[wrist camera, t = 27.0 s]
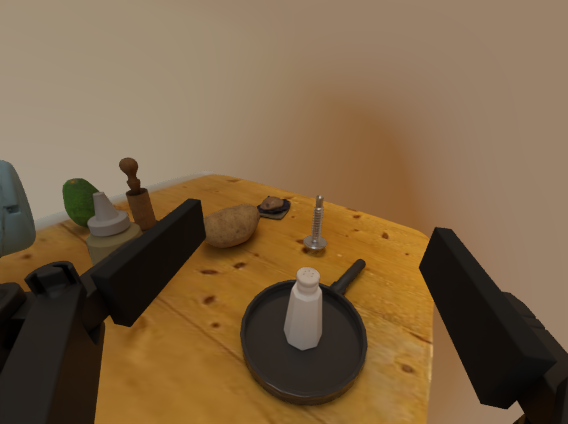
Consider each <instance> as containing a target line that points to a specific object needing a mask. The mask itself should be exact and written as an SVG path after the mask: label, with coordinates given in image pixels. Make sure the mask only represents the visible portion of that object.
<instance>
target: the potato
mask: <svg viewBox="0 0 568 424" xmlns="http://www.w3.org/2000/svg"><path fill="white" fill-rule="evenodd" d="M259 219H260V215H259V211H258V209H257V208H256V207H254V206H252V205H238V206H234V207H230V208H226V209H222V210H220V211H218V212H215V213H212V214H210V215H208V216H206V217H204V224H205V231H206V239H205V241H206V242H207V243H208V244H210V245H212V246H214V247H220V248H224V247H231V246H235V245H238V244H241V243H243V242H245V241H246V240H248V239H249V238H250V236H251V235H252V233H253V232H254V230H255V229H256V227H257V225H258V222H259Z"/></svg>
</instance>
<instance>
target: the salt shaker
mask: <svg viewBox="0 0 568 424" xmlns="http://www.w3.org/2000/svg"><path fill="white" fill-rule="evenodd" d="M319 280H320V274H319V273H318V271H316V270H315V269H313V268H310V267H304V268H301V269H300V270H298V272H297V282H296V283H295V285H294V286H293V288H292V291H291V295H290V300H289V305H288V310H287V315H286V320H285V325H284V332H285V335H286V338H287V342H288V343H289V344H291V345H292V346H294V347H296V348H298V349H300V350H302V351H303V350H306V349H309V348H313V347H316V346H317V344H318V342H319V340H320V337H321V335H322V291H321V289H320V287H319Z"/></svg>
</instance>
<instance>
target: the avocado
mask: <svg viewBox="0 0 568 424" xmlns="http://www.w3.org/2000/svg"><path fill="white" fill-rule="evenodd" d="M96 192H99V191H98V190H97V189H96V188H95V187H94V186H93V185H91V184H90V183H89V182H88V181H86V180H84V179H71V180H68V181H67V182H66V183H65V184H64V185H63V199H64V204H65V209H66V211H67V213H68V215H69V217H70V218H71V219H72V220H73V221H74V222H75V223H77V224H78V225H80V226H83V227H88V225H87V223H88V220H89V219H90V218H92V217H93V216H95V208H94V200H93V194H94V193H96Z"/></svg>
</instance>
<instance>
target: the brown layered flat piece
mask: <svg viewBox="0 0 568 424" xmlns="http://www.w3.org/2000/svg"><path fill="white" fill-rule="evenodd" d="M290 204H291V203H290V202H289V201H287V199H280V198H278V197H270V196H268V197H267V198H266V199H264V201H263V202H262V204H260V205H258V206H257V209H258V211H259V215H260V216H263V217H269V218H274V219H280V220H281V219H282V218H283V217H284V216H285V214H286V213H287V211H288V209H289V207H290Z"/></svg>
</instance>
